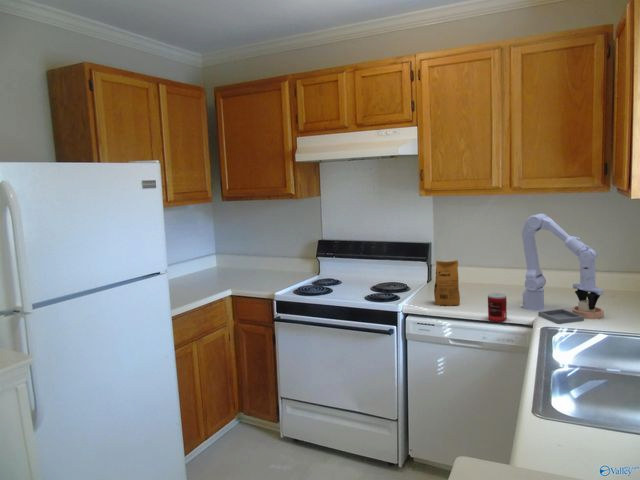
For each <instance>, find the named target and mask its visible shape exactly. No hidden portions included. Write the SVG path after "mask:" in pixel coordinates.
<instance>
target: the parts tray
mask: <svg viewBox="0 0 640 480" xmlns="http://www.w3.org/2000/svg"><path fill="white" fill-rule="evenodd" d="M537 315H538V317H541V318H543V319H545V320H548V321H550V322H552V323H554V324H557V325H563V324H569V323H578V322H585V318H584V316H581V315H578V314H576V313H573V312H572V311H570V310H568V309H564V308H559V309H551V310H549V309H548V310H540V311H538V314H537Z"/></svg>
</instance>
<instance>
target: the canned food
mask: <svg viewBox="0 0 640 480" xmlns="http://www.w3.org/2000/svg"><path fill="white" fill-rule="evenodd" d="M507 303H508V302H507V294H505V293H501V292H491V293H489V294H487V318H488V320H490V321H491V322H495V323H501V322H502V323H503V322H506V320H507V319H508V317H507V315H508V314H507V313H508V312H507V310H508V307H507Z"/></svg>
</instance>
